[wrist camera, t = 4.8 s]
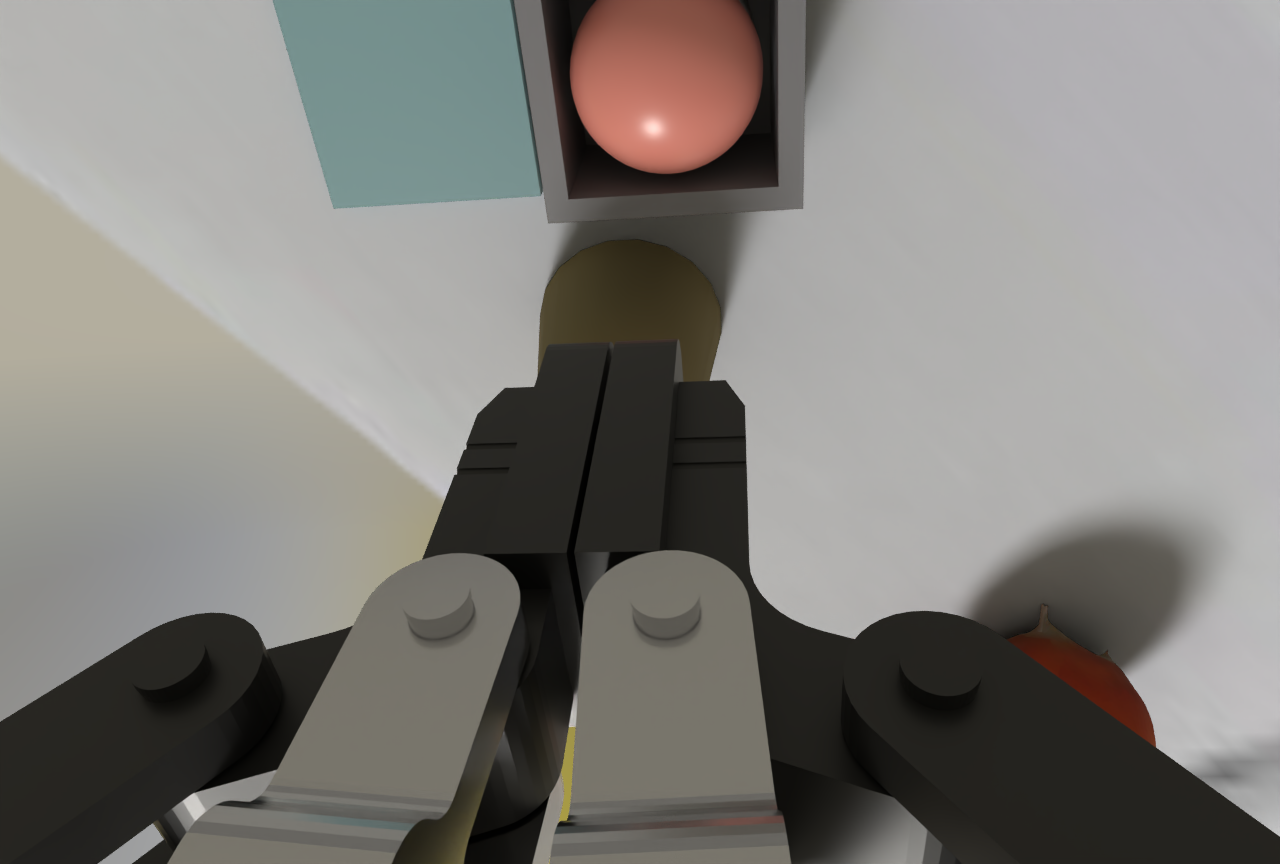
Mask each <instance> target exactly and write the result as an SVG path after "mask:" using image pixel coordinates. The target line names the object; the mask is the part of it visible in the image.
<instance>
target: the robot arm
mask: <svg viewBox="0 0 1280 864" xmlns="http://www.w3.org/2000/svg"><path fill="white" fill-rule="evenodd" d="M466 445H467V449H466V450H464V451H463V454H462V457H461V459H460V462H459V464H458V467H457V475H454V478H453V480H452V483H451V485H450V488H449V491H448V493H447V496H446V499H445V501H444V504H443V506H442V509H441V512H440V514H439V517H438V520H437V522H436V525H435V527H434V530H433V533H432V535H431V538H430V541H429V544H428V546H427V549H426V551H425V554H424V556H423V559H422V560H420V561H418V562H415V563H412V564H410V565H408V566H406V567H404V568H402V569H401V570H399V571H397V572H396V573H394V574H393V575H391V576H390V577H388V578H387V579H386V580H385V581H384V582H382V583H381V584H380V585H379V586H378V587H377V588H376V590H375V591H374V592H373V593H372V594H371V595H370V597H369V598H368V600H367V601H366V603H365V604H364V606H363V608H362V610H361V612H360V614H359V616H358V618H357V619H356V622H355V623H354V625H353V626H351V627H348V628H346V629H343V630H339V631H336V632H333V633H329V634H326V635H322V636H318V637H314V638H310V639H306V640H302V641H298V642H294V643H291V644H287V645H283V646H279V647H275V648H271V649H267V650H266V648H265V646H264V643H263V641H262V639H261V637H260V635H259V633H258V631H257V630H256V629H255V628H254V626H253V625H252V624H250V623H249V622H247V621H246V620H244V619H242V618H240V617H237V616H234V615H229V614H225V613H204V614H195V615H191V616H186V617H182V618H179V619H176V620H173V621H170V622H167V623H165V624H162V625H160V626H158V627H156V628H153V629H152V630H150V631H148V632H146V633H144V634H143V635H141V636H139V637H137V638H136V639H134V640H132V641H131V642H129V643H128V644H126V645H124V646H123V647H121V648H120V649H118V650H116V651H115V652H113V653H111V654H110V655H108V656H106V657H105V658H103V659H102V660H100V661H98V662H97V663H95V664H93V665H92V666H90V667H89V668H87V669H85V670H84V671H82V672H80V673H79V674H77V675H76V676H74V677H73V678H71V679H69V680H68V681H66V682H64V683H63V684H61V685H59V686H58V687H56V688H54V689H53V690H51V691H50V692H48V693H47V694H45V695H43V696H41V697H40V698H38V699H37V700H35V701H33V702H32V703H30V704H29V705H27V706H25V707H24V708H22V709H20V710H19V711H17V712H16V713H14V714H12V715H11V716H9V717H7V718H6V719H4V720H3V721H1V722H0V864H98V863H99V862H100V861H102V860H103V859H105V858H106V857H107V856H109V855H110V854H111V853H113V852H114V851H115V850H117V849H118V848H119V847H121V846H122V845H123V844H125V843H126V842H128V841H129V840H130V839H132V838H133V837H134V836H136V835H137V834H138V833H140V832H141V831H143V830H144V829H145V828H146V827H148V826H149V825H151V824H152V823H153V824H154V825H155V827H156V828H157V830H158V831H159V832H160V834H161V836H162V837H163V838H164V840H163V841H162V842H160V843H159V844H158V845H156V846H155V847H154V848H152V849H151V850H150V851H148V852H147V853H146V854H144V855H143V856H142V857H140V858H139V859H138V860H136V861H135V862H134V863H132V864H548V863H549V859H550V864H1280V837H1279V836H1278V835H1277V834H1275V833H1274V832H1272V831H1271V830H1270V829H1268V828H1267V827H1265V826H1264V825H1263V824H1261V823H1260V822H1258V821H1257V820H1256V819H1254V818H1253V817H1252V816H1250V815H1249V814H1247V813H1246V812H1245V811H1243V810H1242V809H1240V808H1239V807H1238V806H1236V805H1235V804H1234V803H1232V802H1231V801H1229V800H1228V799H1227V798H1225V797H1224V796H1222V795H1221V794H1220V793H1218V792H1217V791H1216V790H1214V789H1213V788H1211V787H1210V786H1209V785H1207V784H1206V783H1204V782H1203V781H1202V780H1200V779H1199V778H1197V777H1196V776H1195V775H1193V774H1192V773H1191V772H1189V771H1188V770H1186V769H1185V768H1184V767H1182V766H1181V765H1179V764H1178V763H1177V762H1175V761H1174V760H1173V759H1171V758H1170V757H1168V756H1167V755H1166V754H1164V753H1163V752H1161V751H1160V750H1159V749H1157V748H1156V747H1155V746H1153V745H1152V744H1150V743H1149V742H1148V741H1146V740H1145V739H1143V738H1142V737H1141V736H1139V735H1138V734H1136V733H1135V732H1134V731H1132V730H1131V729H1130V728H1128V727H1127V726H1125V725H1124V724H1123V723H1121V722H1120V721H1118V720H1117V719H1116V718H1114V717H1113V716H1112V715H1110V714H1109V713H1107V712H1106V711H1105V710H1103V709H1102V708H1100V707H1099V706H1098V705H1096V704H1095V703H1094V702H1092V701H1091V700H1089V699H1088V698H1087V697H1085V696H1084V695H1082V694H1081V693H1080V692H1078V691H1077V690H1076V689H1074V688H1073V687H1071V686H1070V685H1069V684H1067V683H1066V682H1064V681H1063V680H1062V679H1060V678H1059V677H1057V676H1056V675H1055V674H1053V673H1052V672H1051V671H1049V670H1048V669H1046V668H1045V667H1044V666H1042V665H1041V664H1039V663H1038V662H1037V661H1035V660H1034V659H1033V658H1031V657H1030V656H1028V655H1027V654H1026V653H1024V652H1023V651H1021V650H1020V649H1019V648H1017V647H1016V646H1015V645H1013V644H1012V643H1010V642H1009V641H1008V640H1006V639H1005V638H1003V637H1002V636H1001V635H999V634H997V633H996V632H994V631H993V630H991V629H989V628H988V627H986V626H984V625H981V624H979V623H977V622H975V621H973V620H970V619H967V618H964V617H961V616H958V615H953V614H948V613H943V612H933V611H913V612H906V613H900V614H895V615H892V616H889V617H886V618H883V619H881V620H879V621H877V622H875V623H873V624H871V625H870V626H869V627H867V628H866V629H865V630H863V631H862V632H861V633H860V634H859V635H858V636H857V637H856V639H851V638H847V637H844V636H840V635H836V634H832V633H828V632H824V631H821V630H817V629H814V628H811V627H808V626H805V625H803V624H801V623H799V622H796V621H794V620H792V619H790V618H789V617H787V616H785V615H784V614H782V613H781V612H779V611H778V610H777V609H775V608H774V607H773V606H772V605H771V604H770V603H768V601H767V600H766V599H765V598H764V597H763V596H762V595H761V593H760V592H759V590H758V589H757V587H756V585H755V584H754V581H753V578H752V576H751V573H750V566H749V536H748V500H747V465H746V430H745V405H744V404H743V403H742V401H741V400H740V399H739V398H738V396H737V395H736V394H735V392H734V391H733V390H732V388H731V387H730V386H729V384H728V383H727V382H726V380H720V381H691V382H683V371H682V358H681V348H680V342H679V339H662V340H636V341H616V342H615V344H614V346H613V343H612V342H591V343H565V344H549V345H548V346H547V348H546V351H545V354H544V357H543V361H542V364H541V367H540V370H539V374H538V377H537V380H536V383H535V387H521V388H505V389H504V390H502V391H501V392H500V393H499V394H498V395H497V396H496V397H495V398H494V399H493V400H492V401H491V402H490V403H489V404H488V405H487V406H486V407H485V408H484V409H483V410H482V411H481V412H479V413H478V415H477V417H476V420H475V422H474V425H473V428H472V430H471V433H470V436H469V438H468V441H467V443H466ZM569 727H576V731H575V745H574V760H573V776H572V790H571V804H570V811H569V815H568V819H567V821H560V822H559V823H558V821H559V817H560V812H561V809H562V804H563V797H564V785H563V779H562V775H561V769H562V765H563V759H564V752H565V746H566V740H567V733H568V728H569Z"/></svg>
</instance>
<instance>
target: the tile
mask: <svg viewBox="0 0 1280 864" xmlns="http://www.w3.org/2000/svg"><path fill="white" fill-rule="evenodd" d="M273 3H274V7H275V10H276V13H277V17H278V20H279V24H280V27H281V31H282V34H283V37H284V41H285V44H286V48H287V51H288V54H289V58H290V61H291V65H292V68H293V71H294V75H295V78H296V82H297V85H298V89H299V92H300V95H301V99H302V102H303V106H304V109H305V112H306V116H307V119H308V123H309V126H310V129H311V133H312V136H313V140H314V143H315V147H316V150H317V153H318V157H319V160H320V164H321V167H322V170H323V174H324V177H325V181H326V184H327V187H328V191H329V194H330V198H331V201H332V204H333V208H334V209H336V208H353V207H369V206H386V205H402V204H418V203H435V202H451V201H467V200H484V199H500V198H517V197H533V196H541V194H542V192H543V189H542V183H541V176H540V170H539V163H538V157H537V151H536V144H535V138H534V131H533V125H532V118H531V112H530V105H529V99H528V92H527V86H526V79H525V73H524V66H523V60H522V53H521V47H520V41H519V34H518V28H517V21H516V15H515V8H514V2H513V0H273Z"/></svg>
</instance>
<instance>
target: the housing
mask: <svg viewBox="0 0 1280 864" xmlns="http://www.w3.org/2000/svg"><path fill="white" fill-rule="evenodd" d="M595 1H596V0H514V4H515V11H516V17H517V24H518V30H519V37H520V43H521V50H522V56H523V63H524V69H525V75H526V82H527V88H528V95H529V101H530V108H531V114H532V121H533V127H534V134H535V140H536V147H537V153H538V160H539V166H540V173H541V179H542V186H543V192H544V199H545V205H546V212H547V218H548V223H564V222H581V221H599V220H616V219H633V218H651V217H668V216H685V215H702V214H720V213H737V212H754V211H771V210H789V209H803V184H804V113H805V42H806V0H747V2H748V5H749V8H750V11H751V14H752V19H753V24H754V26H755V29H756V32H757V34H758V37H759V40H760V45H761V50H762V55H763V82H762V89H761V94H760V98H759V101H758V105H757V108H756V110H755V112H754V115H753V117H752V119H751V121H750V123H749V124H748V126H747V127H746V129H745V131H744V132H743V134H742V135H741V136H740V137H739V139H738V140H737V141H736V142H735V144H734V145H732V146H731V147H730V148H729V149H728V150H727V151H726V152H725V153H724V154H722V155H721V156H719V157H718V158H717V159H715V160H713V161H711V162H710V163H708V164H706V165H704V166H701V167H699V168H696V169H694V170H690V171H686V172H682V173H674V174H657V173H649V172H645V171H641V170H637V169H635V168H632V167H630V166H627V165H625V164H624V163H622V162H620V161H618V160H616V159H615V158H614V157H612V156H611V155H610V154H608V153H607V152H606V151H605V150H604V149H603V148H602V147H600V146H599V145H598V144H597V143H596V141H595V140H594V139H593V138H592V136H591V135H590V134H589V132H588V131H587V129H586V128H585V126H584V124H583V123H582V120H581V118H580V116H579V114H578V112H577V109H576V106H575V103H574V99H573V95H572V90H571V84H570V59H571V54H572V48H573V44H574V40H575V37H576V34H577V31H578V28H579V26H580V24H581V22H582V20H583V18H584V16H585V15H586V13H587V12H588V10H589V9H590V7H591V6H592V5H593V4H594V2H595Z"/></svg>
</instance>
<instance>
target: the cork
mask: <svg viewBox="0 0 1280 864" xmlns="http://www.w3.org/2000/svg"><path fill="white" fill-rule="evenodd" d="M720 336H721V309H720V305H719V303H718V300H717V298H716V295H715V293H714V290H713V288H712V285H711V283H710V282H709V281H708V280H707V278H706V277H705V276H704V275H703V274H702V273H701V272H700V270H699V269H698V268H697V267H696V266H695V265H694V264H693V262H691V261H690V260H688V259H686V258H685V257H683V256H681V255H680V254H678V253H676V252H675V251H673V250H671V249H670V248H668V247H665V246H661V245H657V244H654V243H650V242H646V241H642V240H617V241H606V242H603V243H601V244H598V245H595V246H592V247H590V248H587V249H584V250H581V251H580V252H578V253H577V254H576V255H575V256H573V257H572V258H571V259H569V260H568V261H567V262H566V263H564V264H563V265H562V266H561V267H559V269H558V270H557V272H556V273H555V275H554V277H553V278H552V280H551V281H550V283H549V285H548V286H547V288H546V289H545V293H544V298H543V303H542V308H541V313H540V331H539V355H538V374H539V370H540V367H541V364H542V361H543V357H544V354H545V351H546V348H547V346H548V345H549V344H565V343H591V342H612V343H613V346H614V344H615V342H616V341H636V340H662V339H679V342H680V348H681V358H682V371H683V382H691V381H709V380H710V376H711V372H712V368H713V364H714V360H715V356H716V352H717V348H718V344H719V340H720Z"/></svg>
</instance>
